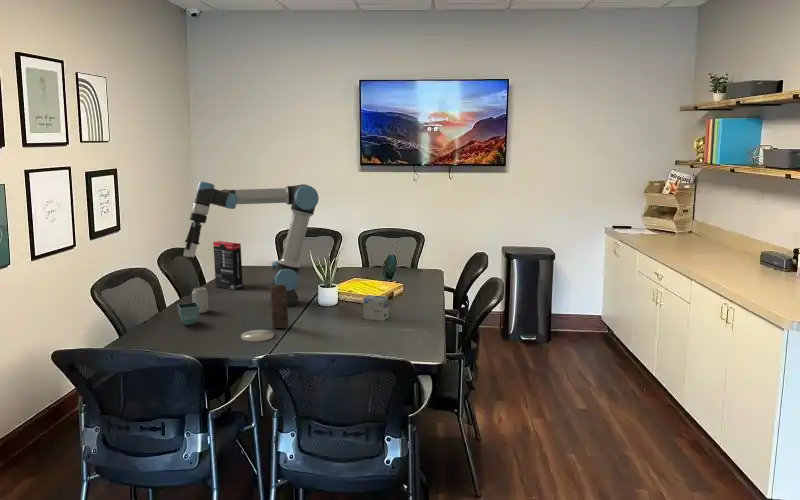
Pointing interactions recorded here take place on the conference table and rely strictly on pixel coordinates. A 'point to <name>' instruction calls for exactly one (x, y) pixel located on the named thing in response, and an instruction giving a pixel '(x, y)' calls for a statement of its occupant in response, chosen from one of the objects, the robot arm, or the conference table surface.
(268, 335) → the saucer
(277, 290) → the candle
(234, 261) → the graphics card box
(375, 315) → the light bulb box
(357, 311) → the conference table surface
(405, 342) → the conference table surface
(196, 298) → the can
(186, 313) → the flower pot
